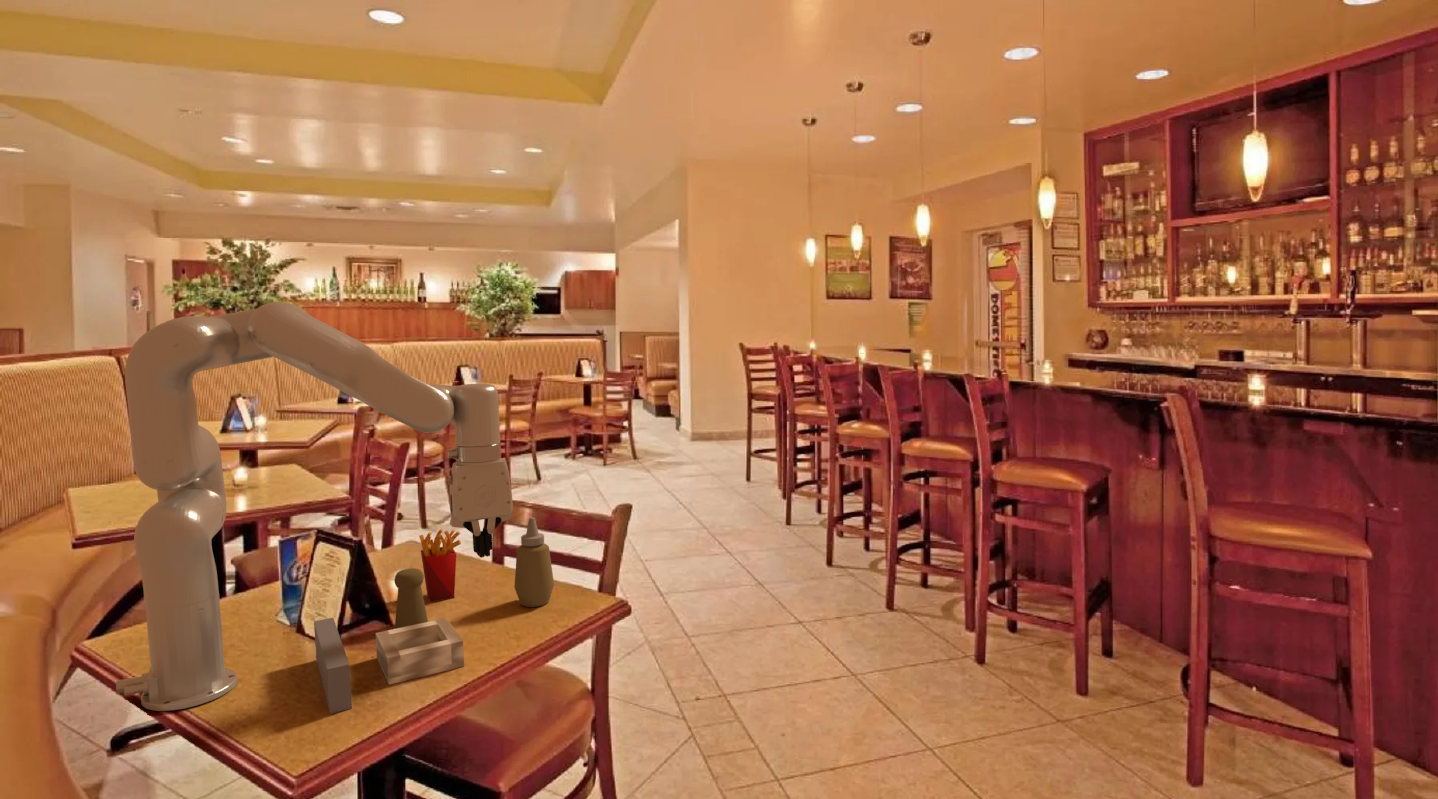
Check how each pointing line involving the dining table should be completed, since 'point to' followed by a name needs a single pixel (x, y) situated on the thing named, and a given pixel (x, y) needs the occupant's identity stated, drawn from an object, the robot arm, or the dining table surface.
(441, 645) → the holder block
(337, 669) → the backstop wall
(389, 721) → the dining table surface
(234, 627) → the dining table surface
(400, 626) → the pepper mill
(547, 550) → the squeeze bottle
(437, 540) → the french fries
